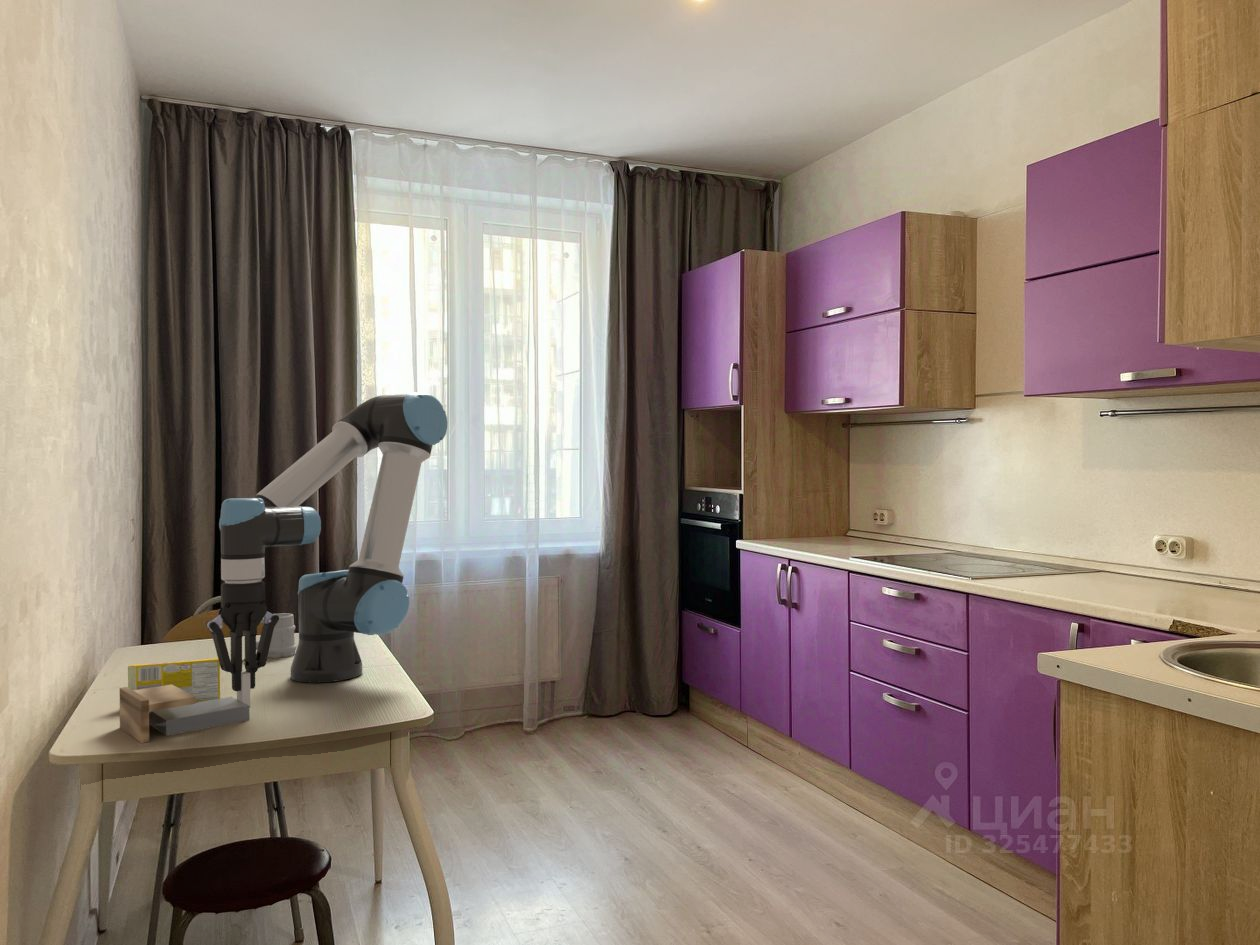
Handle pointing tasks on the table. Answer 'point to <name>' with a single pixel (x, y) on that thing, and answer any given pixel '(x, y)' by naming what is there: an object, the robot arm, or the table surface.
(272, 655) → the mug
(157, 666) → the candy box
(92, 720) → the table surface
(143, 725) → the shelf
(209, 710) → the gray block
